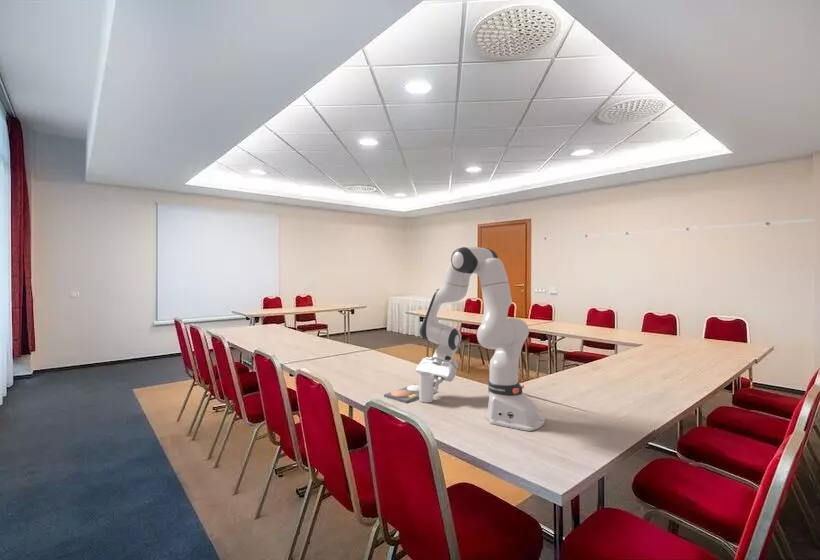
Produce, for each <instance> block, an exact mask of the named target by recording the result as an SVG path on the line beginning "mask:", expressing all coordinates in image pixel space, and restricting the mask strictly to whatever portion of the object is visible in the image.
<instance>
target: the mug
mask: <svg viewBox="0 0 820 560" xmlns="http://www.w3.org/2000/svg"><path fill="white" fill-rule="evenodd" d="M437 378H438V377H437V376H434V373H431V372H421V373H419V374H418V379H419V380H418V381H419V382H418V385H419V399H418V400H419V402H421V403H426V404H427V403H431V402H433V401H434V394H435V393H437V392H438V389H439V386H440V384H439V385H438V387H437V388H436V387H434V386H433V384H434V382H436V381H437V380H439V379H437Z"/></svg>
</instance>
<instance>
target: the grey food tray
mask: <svg viewBox="0 0 820 560" xmlns="http://www.w3.org/2000/svg"><path fill="white" fill-rule="evenodd" d="M383 397H385V398H388V399H390V400H395V401H398V402H401V403H405V404H408V403H411V402H412V401H413V402H414V401H415V400H419V384H417V383H415V384H410V385H408V386H406V387H403V388H400V389H396V390H393V391H391V392H388V393H385V394H384V393H383Z"/></svg>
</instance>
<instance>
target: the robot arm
mask: <svg viewBox="0 0 820 560" xmlns="http://www.w3.org/2000/svg"><path fill="white" fill-rule="evenodd" d="M472 274H476V275H478V277H479V283H480V288H481V295H482V300H483V313H482V314H483V315H482V320H481V323H480V326H478V328H477V331H476V337H477V338H476V339H477V342H478V344H479V345H480V346H481V347H482V348H484V349H489V350H495V351H494V354H493V355H492V357H491V358H490V360H489V370H488V371H489V380H488V394H489V395H488V404H487V409H486V411H485V418H486V419H487V420H488V422H489V423H490V424H491V425H495V426H501V427H505V428H511V429H517V430H521V431H524V432H525V431H526V432H531V431H535V430H538V429H540V428H542V427H543V426H544V425H545V421H546V420H545V418H544V417H542V416H540V415H539V409H538V406H537V405H536V404H535V403H534V402H533V401H532V400H531V399H530V398H529V397H528V396H527V395H525V394H524V393H523V389H525V385H521V384H520V382H519V362H520V357H521V352H522V349H523V346H524V344H525V342H526V340H527V339H528V337H529V334H530V331H529V330H530V329H529V326H528V324H527V322H526V321H524V320H523V319H520V318H517V317H515V318H514V317H509V318H508V316H509V315H508V314H509V309H510V306H511V305H512V302H513V298H512V294H511V287H510V282H509V277H508V274H507V271H506V268H505V265H504V263H503V261H502V260H501V259H500V258H499V257H498V254H497V252H495V251H494V249H491V248H488V247H477V246H468V247H466V246H463V247H459V248H456V249H455V250H454V251H453V252H452V254H451V259H450V260H449V263H448V266H447V269H446V272H445V276H444V280H443V283H442V285H441V287H440V288H438V289H437V290H436V289H435V291H434V294H433V295H432V297H431V301H430V303H429V306H428V308H427V312H426V314H425V316H424V319H423V321H422V324H421V326H420V329H419V336H421V338H422V340H423V341H425V342H429V343H434V344H436V345H438V347H437V348H436V349H435V351H434V353H433V355H432V357H428V356H426V357H423V358H422V359H421V361H420V362H419V363H418V365H417V366H416V367H415V371H416V373H417V374H418V375H419V373H421V372H431V373H434V376H437V377H438V378H437V379H439V380H437V381H436V380H435V381H434V384H433V386H434V388H435V387H436V388H437V387H438V388H439V386H440V384H442V383H443V381H446V382H452V381H453V380H454V379H455V377H456V374H457V369H458V368H459V363H457V361H456V360H455V359H454V355H455V353H456V352H457V351H458V349H459V346H460V344H461V340H462V334H461V333H462V332H460V331H459V330H457V328H455V327H453V326H451V325H447V324H443V323H441V322H438V321H437V320H436V318H437V315H438V313H439V310H440V307H441V305H443V304H445V303H446V304H448V303H455V302H459V301H461V300H463V299H464V298H465V297H466V295H467V292H468V290H469V285H470V279H471V276H472ZM438 385H439V386H438Z"/></svg>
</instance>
